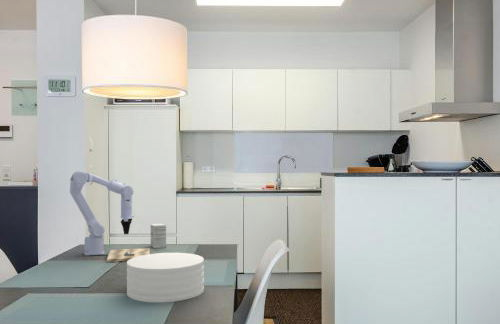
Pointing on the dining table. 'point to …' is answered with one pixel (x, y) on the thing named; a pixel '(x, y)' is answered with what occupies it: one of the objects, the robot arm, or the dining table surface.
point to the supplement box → (158, 235)
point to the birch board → (120, 254)
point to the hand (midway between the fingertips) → (126, 233)
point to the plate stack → (165, 277)
